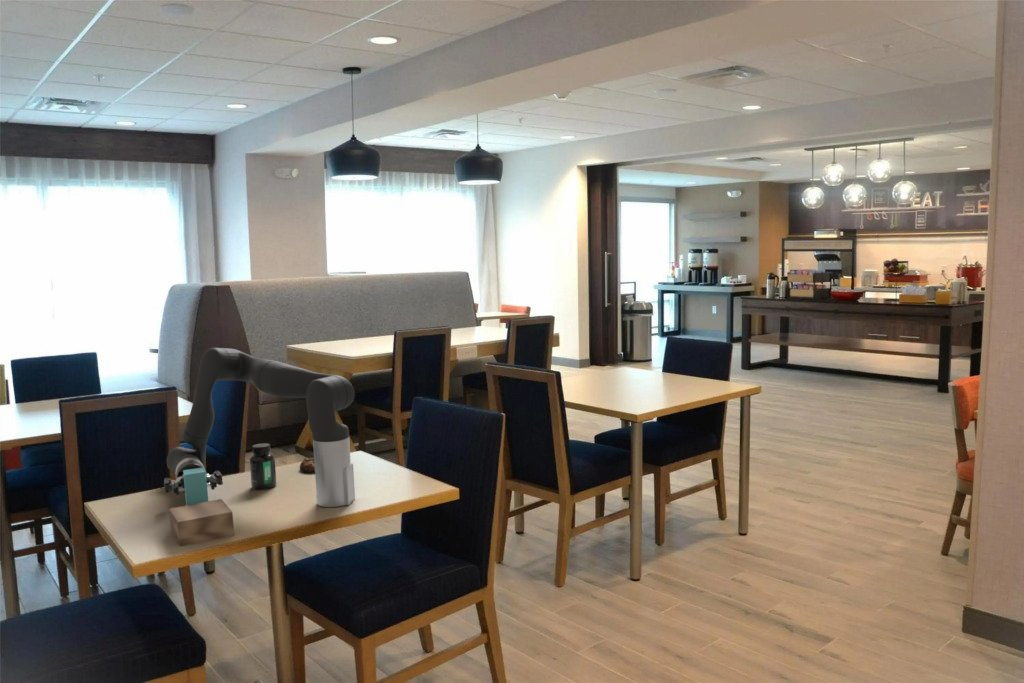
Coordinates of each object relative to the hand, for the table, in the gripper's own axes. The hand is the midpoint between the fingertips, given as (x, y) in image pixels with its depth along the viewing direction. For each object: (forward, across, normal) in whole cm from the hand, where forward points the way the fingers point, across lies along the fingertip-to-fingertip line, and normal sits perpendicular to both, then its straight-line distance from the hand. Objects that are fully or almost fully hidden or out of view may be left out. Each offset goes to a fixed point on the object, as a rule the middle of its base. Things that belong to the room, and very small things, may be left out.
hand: (195, 488), depth 206 cm
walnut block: (+17, 0, +7) cm, 18 cm away
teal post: (+4, 0, +6) cm, 8 cm away
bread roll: (-26, +37, +7) cm, 46 cm away
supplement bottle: (-15, +19, +7) cm, 25 cm away
